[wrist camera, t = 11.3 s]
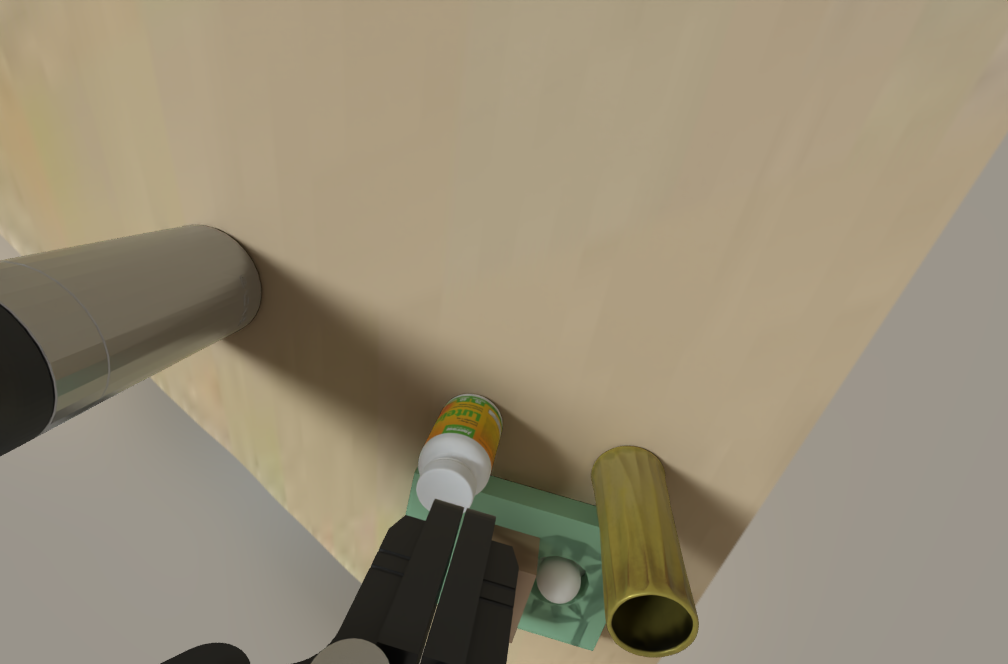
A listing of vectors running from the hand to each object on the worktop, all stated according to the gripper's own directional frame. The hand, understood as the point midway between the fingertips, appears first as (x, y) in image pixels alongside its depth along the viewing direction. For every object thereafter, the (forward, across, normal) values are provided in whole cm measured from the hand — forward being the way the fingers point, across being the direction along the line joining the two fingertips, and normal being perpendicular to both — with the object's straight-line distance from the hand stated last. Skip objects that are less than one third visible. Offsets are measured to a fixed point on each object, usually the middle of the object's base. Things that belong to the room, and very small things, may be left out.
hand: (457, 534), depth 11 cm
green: (+27, -4, +26) cm, 38 cm away
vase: (+27, -12, +15) cm, 33 cm away
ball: (+25, -9, +26) cm, 37 cm away
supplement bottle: (+27, +2, +14) cm, 31 cm away
